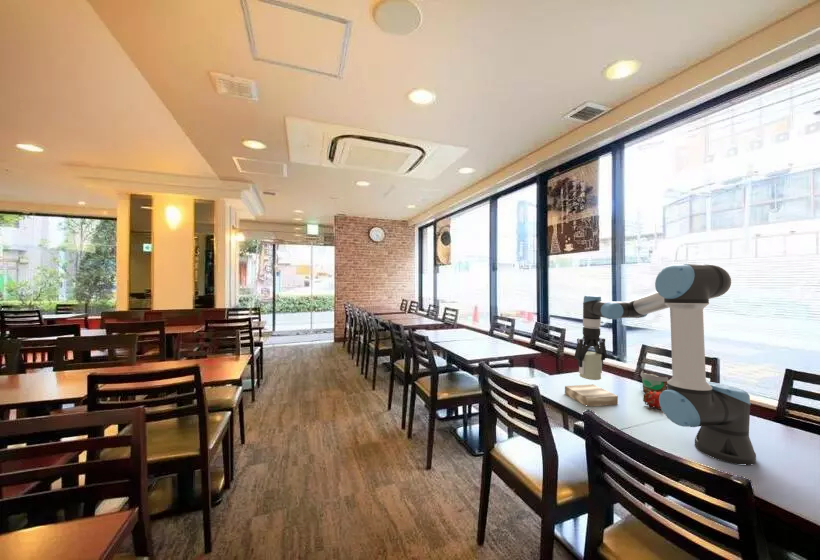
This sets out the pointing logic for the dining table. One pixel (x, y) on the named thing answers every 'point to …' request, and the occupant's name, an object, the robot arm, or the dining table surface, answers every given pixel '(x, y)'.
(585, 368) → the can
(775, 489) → the dining table surface
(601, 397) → the riser block
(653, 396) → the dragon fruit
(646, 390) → the food container
